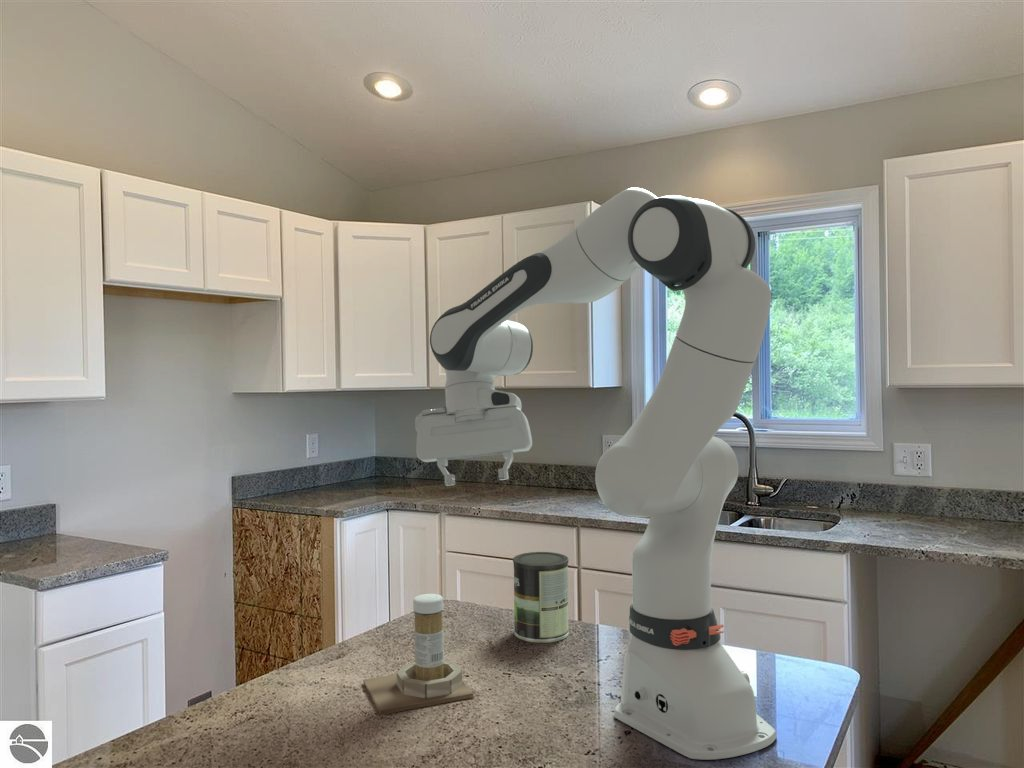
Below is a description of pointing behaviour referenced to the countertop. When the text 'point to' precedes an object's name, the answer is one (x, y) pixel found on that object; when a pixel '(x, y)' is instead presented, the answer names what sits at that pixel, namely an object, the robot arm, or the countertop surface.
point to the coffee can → (541, 597)
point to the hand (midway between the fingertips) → (476, 482)
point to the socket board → (405, 702)
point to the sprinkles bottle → (428, 637)
